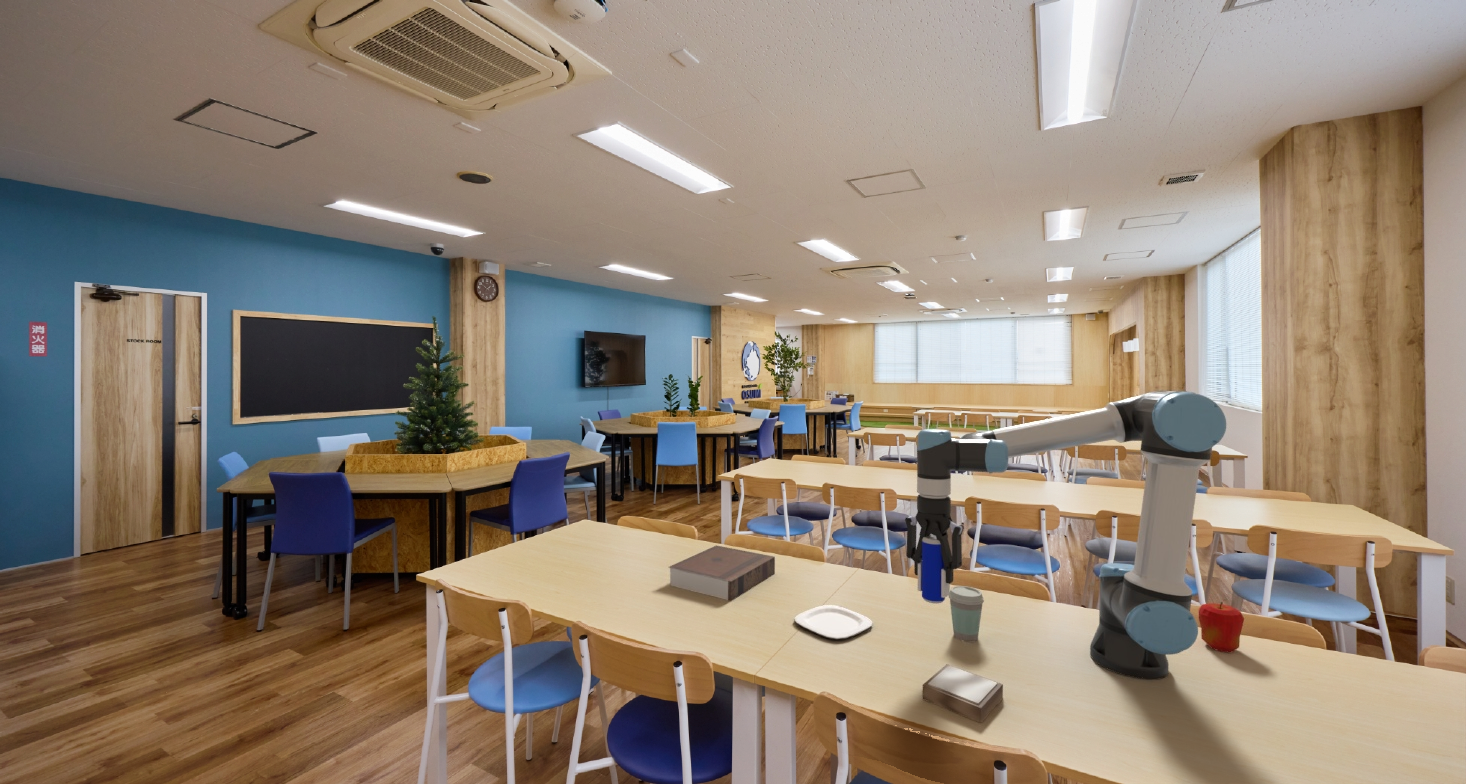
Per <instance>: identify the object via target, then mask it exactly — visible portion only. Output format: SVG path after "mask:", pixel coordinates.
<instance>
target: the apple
mask: <svg viewBox="0 0 1466 784" xmlns="http://www.w3.org/2000/svg"><path fill="white" fill-rule="evenodd" d="M1244 620H1245V618H1244V616H1243V613H1242V612H1241V611H1240V610H1239V609H1238V608H1235V607H1233V606H1231V605H1226V604H1223V601H1221V602H1220V603H1214V602H1210V603H1203V604H1201V605H1200V607H1199V608H1198V621H1199V624H1200V630H1201V631H1200V632H1201V640H1202V641H1203V642H1205V643H1206V644H1207V646H1208V647H1209V648H1211V649H1212V650H1216V651H1218V652H1222V653H1233V652H1234V651H1236V650H1238V649H1239V648H1240V641H1241V633H1242V629H1243V626H1244V622H1245V621H1244Z"/></svg>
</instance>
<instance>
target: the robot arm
mask: <svg viewBox="0 0 1466 784" xmlns="http://www.w3.org/2000/svg"><path fill="white" fill-rule="evenodd" d="M1226 431H1227V418H1226V415H1225V413H1224V411H1223V409H1222V408H1221V406H1219V405H1218V404H1217V403H1216V401H1214V400H1213V399H1211V398H1209V397H1208V396H1205V395H1202V394H1199V393H1196V392H1192V391H1191V392H1190V391H1186V390H1185V391H1179V390H1178V391H1177V390H1176V391H1172V390H1171V391H1169V390H1155V391H1150V392H1147V393H1143V394H1139V395H1137V396H1136V395H1135V396H1132V397H1129V398H1124V399H1122V400H1117V401H1112V402H1111V401H1110V402H1107V404H1106V405H1105V406H1104V407H1103V408H1098V409H1094V410H1089V411H1083V412H1079V413H1074V414H1073V413H1072V414H1069V415H1063V416H1058V417H1053V418H1049V419H1043V420H1038V421H1032V422H1026V423H1022V424H1018V425H1011V426H1007V427H1002V428H997V429H992V430H986V431H982V432H969V433H966V434H964V435H963V436H961V438H954V437H953V436H952V433H951V431H950V430H948V429H939V428H937V429H933V428H929V429H927V428H926V429H921V430H920V431H919V432H918V433H917V441H916V442H917V444H916V465H917V466H916V468H917V469H916V470H917V471H916V475H917V477H916V493H918V495H917V496H916V509H917V512H916V515H915V516H914V515H910V516H907V517H905V519H904V521H905V525H906V527H907V528H906V558H907V559H911V560H912V561H913V563H914V570H913V571H914V575H915V576H917V592H922V539H923V537H927V536H929V535H930V534H932V535H935V536H936V538H937V540H939V541H940V544H941V554H942V558H943V562H944V566H945V568H943V569H941V597H943V598H945V599H946V598H947V597H949V595H950V590H951V588H950V584H952V583H953V582H954V570H958V569H959V568H961V567H962V566H963V553H962V552H963V549H962V547H963V546H962V545H963V544H962V538H963V537H962V535H963V532H964V529H965V528H964V525H963V524H957V523H955V522H953V519H952V517H951V511H952V509H951V508H952V507H951V505H952V504H951V503H952V501H951V500H952V499H951V497H950V495H951V491H952V489H951V487H952V486H951V485H952V483H951V481H952V479H951V478H952V477H951V476H952V471H953V472H975V473H989V474H993V473H994V474H995V473H1005V472H1006V471H1007V469H1008V468H1009V467H1008V466H1009V459H1010V458H1018V457H1021V456H1028V455H1034V454H1040V453H1046V452H1051V451H1055V450H1056V451H1057V450H1063V449H1068V448H1073V447H1080V446H1085V445H1090V444H1097V443H1102V442H1108V441H1112V440H1113V441H1116V442H1118V443H1127V442H1135V441H1138V442H1139V441H1141V444H1140V450H1139V451H1140V453H1141V454H1142V455H1143V456H1144V457H1145V459H1146V460H1147V464H1146V466H1147V467H1146V473H1145V480H1144V488H1143V496H1142V503H1141V512H1140V518H1139V519H1140V520H1139V526H1138V534H1137V540H1136V541H1137V542H1136V550H1135V551H1136V552H1135V556H1134V562H1133V563H1134V564H1130V563H1118V562H1117V563H1116V562H1109V563H1104V564H1102V565H1101V567H1100V568H1099V575H1098V578H1099V605H1098V607H1099V609H1098V610H1099V611H1098V612H1099V618H1098V620H1099V622H1098V626H1097V628H1096V631H1095V634H1094V636H1093V638H1092V640H1091V642H1090V645H1089V646H1090V648H1089V650H1090V651H1089V653H1090V654H1089V655H1090V657H1091V659H1092V660H1093V661H1094V662H1095V663H1096V664H1098V665H1100V666H1101V667H1103V668H1105V669H1106V670H1108V671H1112V672H1113V673H1114V672H1115V673H1117V674H1120V675H1123V676H1127V677H1131V678H1135V679H1141V680H1159V679H1163V678H1166V677H1167V676H1168V675H1169V660H1168V657H1167V655H1177V654H1180V653H1182V652H1184V651H1186V650H1189V649H1190V648H1191V647H1192V646H1193V645H1194V644H1195V642H1196V640H1197V639H1198V636H1199V627H1198V622H1197V621H1196V618H1195V617H1194V615H1193V614H1192V612H1191V606H1192V598H1193V589H1191V588H1190V586H1189V585H1188V584H1187V583H1186V582H1185V579H1186V578H1185V576H1186V570H1187V569H1186V568H1187V563H1188V557H1189V548H1190V541H1191V540H1190V539H1191V533H1192V525H1193V518H1194V511H1195V503H1196V497H1197V496H1196V495H1197V489H1198V481H1199V474H1200V469H1201V467H1202V466H1204V465H1206V464H1208V463H1209V462H1211V458H1212V453H1213V447H1214V446H1216V445H1217V444H1218V443H1220V442H1221V441H1222V439H1223V438H1224V436H1225V434H1226ZM952 437H953V438H952ZM917 524H918V525H919V528H920V531H919V533H918V534H919V538H918V542H917ZM949 528H950V533H952V535H951V545H950V543H949V534H948V530H949ZM950 546H951V547H950Z"/></svg>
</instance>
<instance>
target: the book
mask: <svg viewBox="0 0 1466 784" xmlns="http://www.w3.org/2000/svg"><path fill="white" fill-rule="evenodd" d="M668 568H669V575H670V577H669V578H670V579H669V580H670V581H669V582H670V584H669V585H670V586H671V587H674V588H675V587H676V588H679V589H683V590H687V591H689V592H690V591H692V592H695V593H700V594H703V595H707V596H710V597H711V596H712V597H716V598H720V599H723V600H726V601H728V602H732V601H734V600H735V599H737V598H739V597H740V596H742V595H744V594H745V593H747V592H749V591H750V590H752V589H753V588H754V587H756V586H758V585H760V584H762V583H763V582H764V581H766V580H767V579H769V578H771V577H772V576H774V575H775V574H776V572H775V571H776V570H775V568H776V558H775V556H773V555H768V554H763V553H758V552H752V551H746V550H743V549H736V548H732V547H726V546H720V545H714V546H712V547H710V548H708V549H705V550H703V551H700V552H699V553H696V554H695V555H692V556H690V557H688V558H686V559H683V560H681V561H679V562H676V563H674V564H672V565H670V566H668Z"/></svg>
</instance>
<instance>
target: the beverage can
mask: <svg viewBox="0 0 1466 784" xmlns="http://www.w3.org/2000/svg"><path fill="white" fill-rule="evenodd" d="M943 568H945V566H944V562H943V558H942V554H941V544H940V541H939V540H937V538H936V536H935V535H933V534H930V535H929V536H927V537H923V539H922V591H921V597H922V599H923V600H924V601H925V602H927V603H930V604H943V602H944V601H945V600H946V597H945V598H943V597H941V569H943Z"/></svg>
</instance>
